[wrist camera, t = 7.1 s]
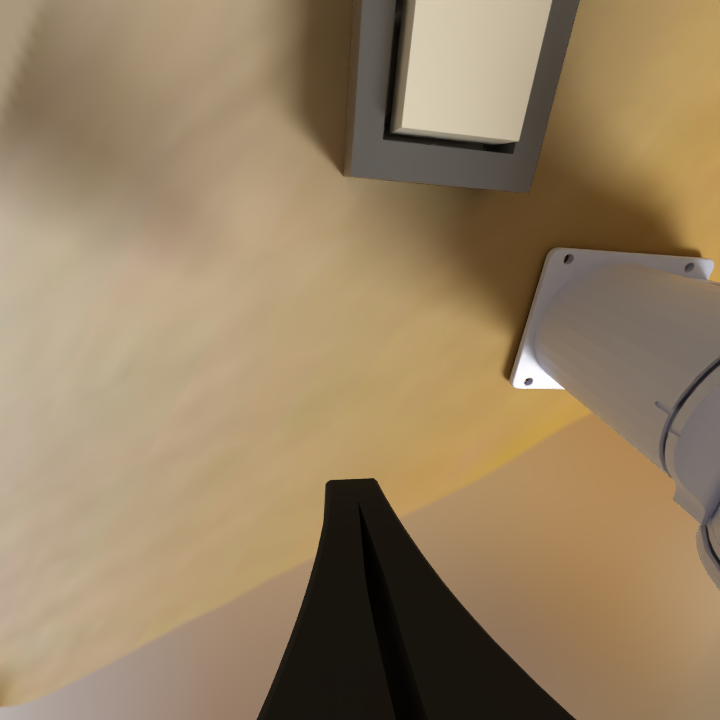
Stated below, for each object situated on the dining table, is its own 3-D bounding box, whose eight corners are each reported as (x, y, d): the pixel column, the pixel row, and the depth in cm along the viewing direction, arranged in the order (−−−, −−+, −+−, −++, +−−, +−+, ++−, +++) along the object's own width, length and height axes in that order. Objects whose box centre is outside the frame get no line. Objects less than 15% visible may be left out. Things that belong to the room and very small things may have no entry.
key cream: (521, 7, 12) (557, -22, 10) (492, 145, 14) (519, 141, 12) (404, -14, 12) (421, -48, 10) (389, 133, 13) (401, 127, 12)
